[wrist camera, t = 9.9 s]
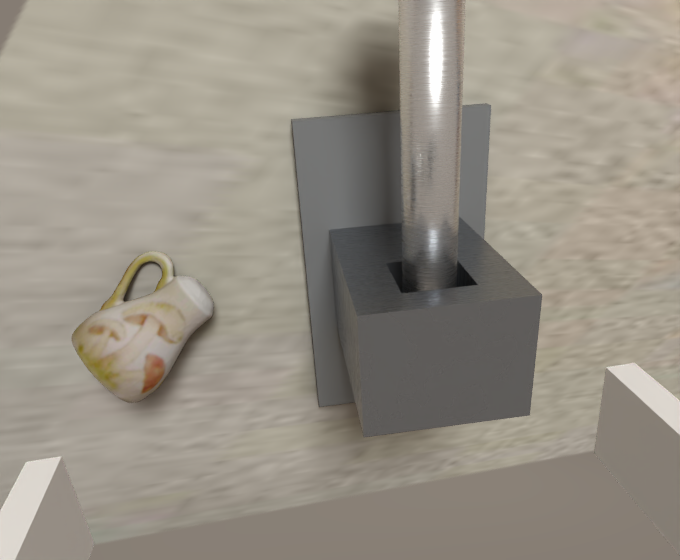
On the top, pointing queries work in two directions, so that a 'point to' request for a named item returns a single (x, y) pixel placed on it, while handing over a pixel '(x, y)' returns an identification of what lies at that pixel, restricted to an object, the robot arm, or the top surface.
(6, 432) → the top surface
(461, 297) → the bearing block
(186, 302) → the mug
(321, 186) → the mat
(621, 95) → the top surface
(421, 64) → the shaft
